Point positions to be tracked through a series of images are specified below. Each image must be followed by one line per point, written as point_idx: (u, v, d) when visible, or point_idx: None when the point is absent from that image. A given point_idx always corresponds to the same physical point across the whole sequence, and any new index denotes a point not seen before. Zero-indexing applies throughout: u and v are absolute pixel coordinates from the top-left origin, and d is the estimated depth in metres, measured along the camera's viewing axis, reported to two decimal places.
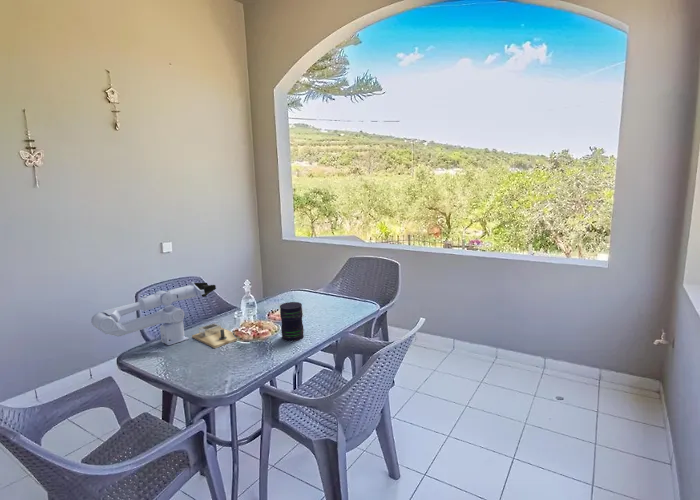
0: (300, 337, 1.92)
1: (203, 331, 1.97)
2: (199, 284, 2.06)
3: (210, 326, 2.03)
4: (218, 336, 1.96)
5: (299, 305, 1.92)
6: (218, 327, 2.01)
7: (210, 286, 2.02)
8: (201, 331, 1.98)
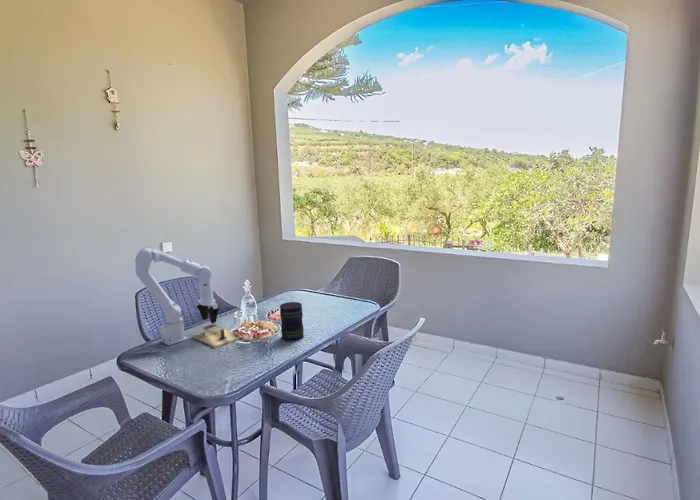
0: (300, 337, 1.92)
1: (203, 331, 1.97)
2: (206, 310, 2.03)
3: (210, 326, 2.03)
4: (218, 336, 1.96)
5: (299, 305, 1.92)
6: (218, 327, 2.01)
7: (215, 316, 1.98)
8: (201, 331, 1.98)
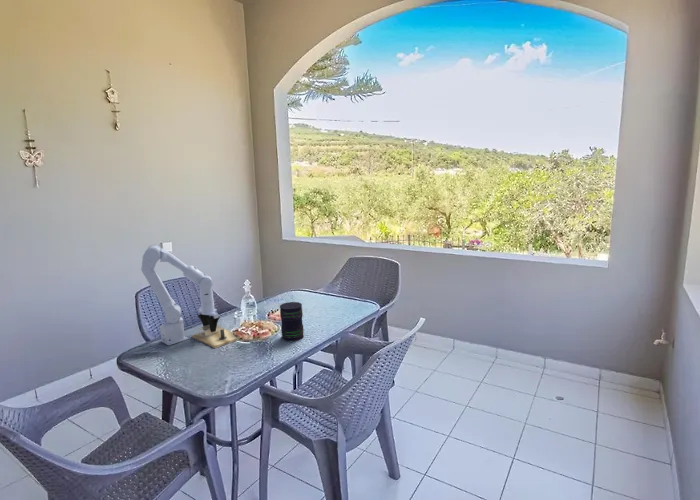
0: (300, 337, 1.92)
1: (203, 331, 1.97)
2: None
3: None
4: (218, 336, 1.96)
5: (299, 305, 1.92)
6: (218, 327, 2.01)
7: (215, 325, 1.99)
8: (201, 331, 1.98)
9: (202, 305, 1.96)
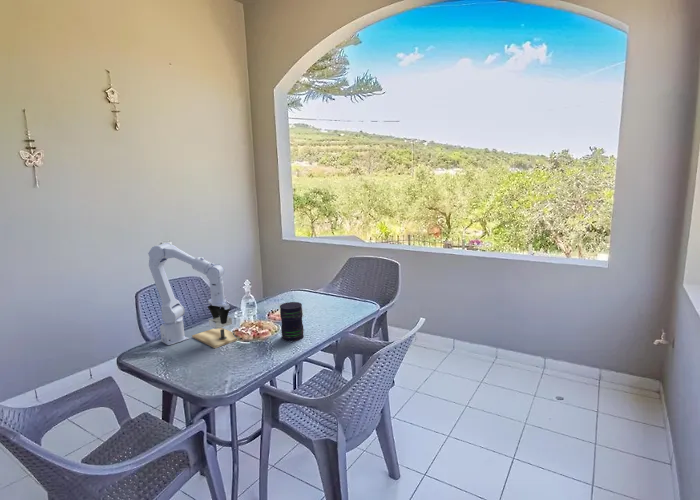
0: (300, 337, 1.92)
1: (213, 323, 1.89)
2: (218, 311, 1.95)
3: None
4: (218, 336, 1.96)
5: (299, 305, 1.92)
6: (229, 319, 1.93)
7: (226, 317, 1.91)
8: (211, 323, 1.91)
9: (212, 296, 1.89)
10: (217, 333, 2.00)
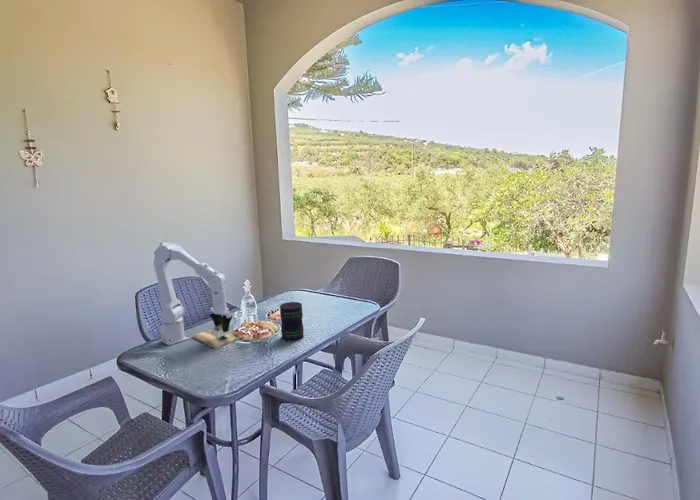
0: (300, 337, 1.92)
1: (215, 331, 1.89)
2: None
3: None
4: None
5: (299, 305, 1.92)
6: (231, 327, 1.93)
7: (228, 325, 1.91)
8: (213, 331, 1.91)
9: (214, 304, 1.89)
10: None
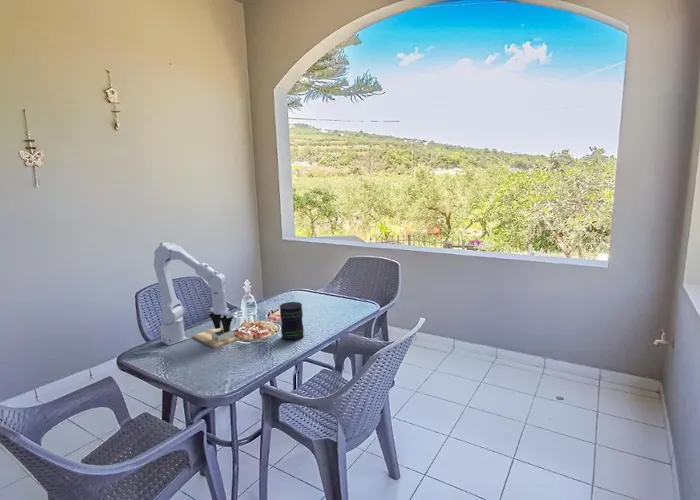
0: (300, 337, 1.92)
1: (216, 337, 1.90)
2: (219, 319, 1.96)
3: None
4: None
5: (299, 305, 1.92)
6: (231, 332, 1.94)
7: (228, 325, 1.90)
8: (214, 337, 1.91)
9: (214, 304, 1.89)
10: None
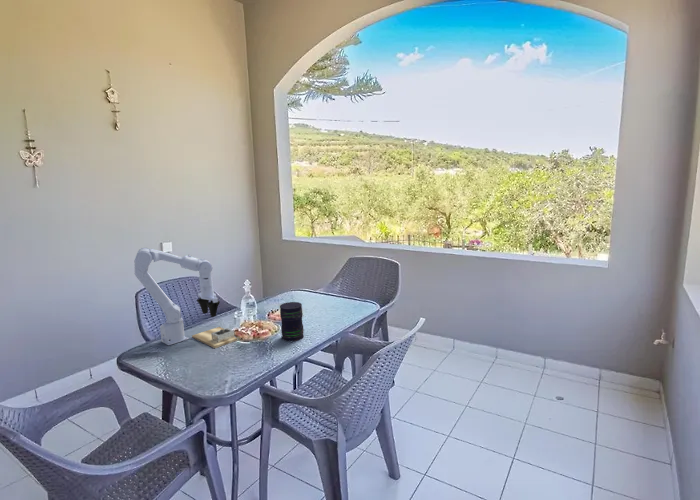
0: (300, 337, 1.92)
1: (216, 337, 1.90)
2: (206, 304, 2.04)
3: None
4: None
5: (299, 305, 1.92)
6: (231, 332, 1.94)
7: (215, 310, 1.98)
8: (214, 337, 1.91)
9: (201, 289, 1.96)
10: None
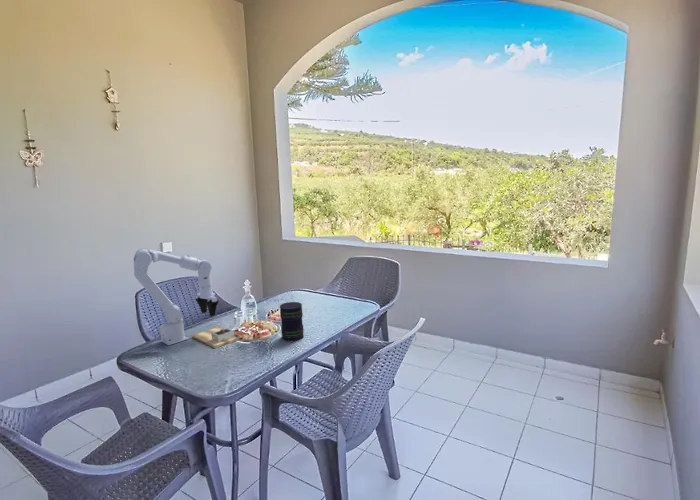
0: (300, 337, 1.92)
1: (216, 337, 1.90)
2: (205, 303, 2.04)
3: None
4: None
5: (299, 305, 1.92)
6: (231, 332, 1.94)
7: (214, 309, 1.99)
8: (214, 337, 1.91)
9: (200, 289, 1.97)
10: None
